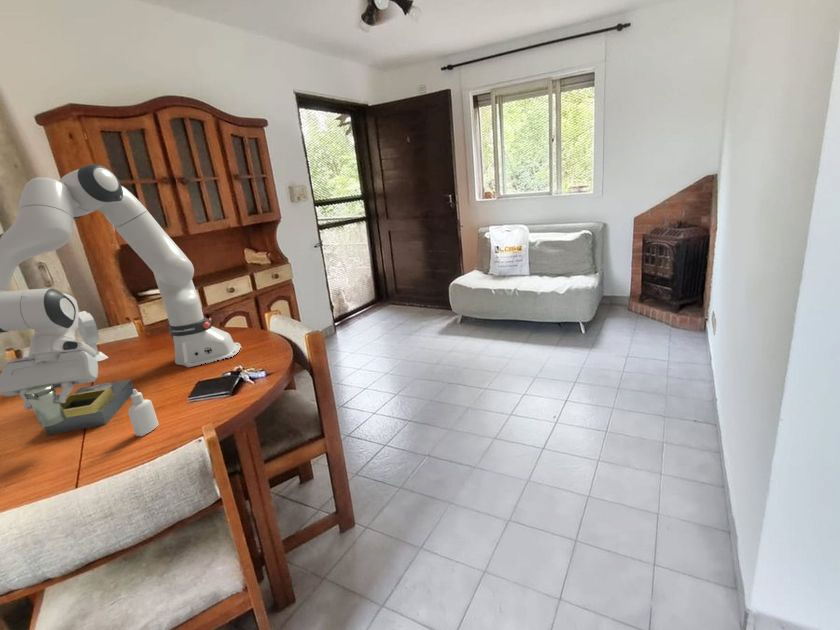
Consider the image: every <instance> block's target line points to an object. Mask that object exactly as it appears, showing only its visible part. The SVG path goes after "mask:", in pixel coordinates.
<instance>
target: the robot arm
mask: <svg viewBox="0 0 840 630" xmlns="http://www.w3.org/2000/svg"><path fill="white" fill-rule="evenodd" d="M18 203H19V204H18V209H17V216H16V218H15V220H14V222H13V223H12V225H11V226H10V227H9V228H8V229H7V230H6V231H4V232H3V233H1V234H0V334H2V333H9V332H13V331H14V332H15V331H27V330H33V331H34V332H33V333H34V334H33V336H32V337H31V340H30V344H29V349H28V355H27V356H25V357H24V356H23V357H21V358H13V359H11V360H10V361H8V362H7V363H5V364H3V366H2V371H1V372H0V395H1V396H5V397H8V398H9V397H14V396H15V397H16V396H20V397H21V399H22V400H23V409H25V410H33V408H32V406H31V404H30V401H29V399H26V391H27V390H29V389H31V388H33V387H37V386H42V385H48V384H53V386H54V388H55V389H60V388H62V389H61V391H60V392H59V393H58V394H57V395H55V400H54V402H55V403H57V404H61V403H65V402H66V396H68V395H69V394H70V393H71V392H72V390H73V389H74V386H78V385H82V384H89V383H94V382H95V381H96V380H97V378H98V375H99V361H97V360H96V359H95V357H96V351H95V350H94V349H93V348H92V347H90V346H89V345H87V344H86V343H85V342H84V341H78V340H76V334H77V332H78V320H79V313H78V312H79V304H78V302H77V299H76V298H74V297H73V296H72V295H70V294H67V293H65V292H61V291H59V290H58V289H55V288H32V289H21V290H9V288H10V284H11V282H12V279H13V275H14V273H15V270H16V269H17V267H18V266H19V265H20V264H22V263H23V262H24V261H27V260H29V259H31V258H33V257H37V256H39V255H43V254H46V253H49V252H50V253H51V252H54V251H56V250H58V249H60V248H62V247H63V246H66V244H68V243H69V241H70V240H71V238H72V236H73V233H74V232H73V231H74V221H75V219H81V217H83V216H86V215H88V214H91V213H93V212H96V211H98V212H100V213H101V214H103V216H105V218H106V220H107V221H108V223H110V224H111V226H112V227H113V228H114V229H115V230H116V232H117V233H118V234H119V235H120V236H121V238H123V240H124V241H125V242H126V243H127V244H128V246H129V247H130V248H131V249H132V250H133V252H135V253H136V254H137V255H138V257H139V258H140V259H141V260H142V261H143V262H144V263H145V264H146V265H147V267H148V268H149V269H150V270H151V272H153V275H154V280H155V282H156V285H157V288H158V291H159V294H160V296H161V300H162V302H163V306H164V309H165V313H166V315H167V320H168V328H169V329H168V330H169V334H170V336H171V338H172V340H173V344H174V345H173V346H174V354H175V355H174V363H175V364H176V365H178V366H184V367H186V368H191V367H195V366H200V365H201V364H202V365H205V363H206V364H210V363H214V361H215V362H218V361H217V360H219V361H223V360H222V359H224V360H226V359H225V358H228V359H231V358H230V357H232V358H234V357H235V356H234V355H236V354H237V353H238V352H239V350H240V348H241V349H242V345H241V343H239V342H234V340H233V338H232V336H231V334H230V333H229V332H227V331H224V330H222V329H219V328H218V327H215V326H213V325H212V318H211V317H209V318H207V317H205V316H204V313H203V309H202V305H201V302H200V298H199V294H198V293H197V290H196V287H195V284H194V282H193V278H194V274H195V268H194V264H193V263H192V261H191V260H190V259H189V258H188V257H187V255H186V254H185V252H183V250H181V248H180V247H179V246H178V245H177V244H176V243H175V242H174V240H173V239H172V238H171V237H170V236H169V235H168V233H167V232H166V231H165V230H164V229H163V227H161V225H160V224H159V223H158V222H157V221H156V219H155V217H153V216H152V214H151V213H150V212H149V210H147V208H146V207H145V206H144V205H143V204H142V202H141V201H140V200H139V199H138V198H137V197H136V196H135V195H134V194H133V193H132V192H131V191H129V190H128V189H127V188H126V187H124V186H123V185H121V182H120V180H119V178H118V177H117V175H116V174H115V173H114V172H113V171H112V170H111V169H109V168H107V167H105V166H103V165H101V164H98V163H93V164H92V163H91V164H86V165H83V166H81V167H80V168H78V169H75V170H72V171H71V172H68V173H66V174H65V175H64V176H62V177H61V178H60V179H58V180H57V179H55V178H51V177H47V176H45V177H44V176H43V177H42V176H41V177H40V176H39V177H38V176H37V177H34V178H32V179H29V181H27V182H26V184H25V186H24V188H23V190H22V192H21V196H20V198H19V202H18ZM240 351H241V350H240ZM239 353H240V352H239ZM239 353H238V354H239ZM238 354H237V355H238ZM237 355H236V356H237ZM233 356H234V357H233Z"/></svg>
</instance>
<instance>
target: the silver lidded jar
mask: <svg viewBox="0 0 840 630" xmlns="http://www.w3.org/2000/svg"><path fill="white" fill-rule="evenodd" d="M56 391H57V390H56V388H54V386H53V384H48V385H42V386H37V387H33V388H31V389H29V390H27V391H26V399H29V401H30V404H31V406H32V408H33V409H32V410H33V413H34V415H35V416H36V420H37V421H38V424H39V425H40V427H42V428H44V427H47V426H51V425H54V424H57V423H59V422H61V421H63V420H64V419H65V418H66V415H65V412H64V410H63V408H62V405H61V404H57V403H55V402H54V400H55V395H58V394H57V392H56Z"/></svg>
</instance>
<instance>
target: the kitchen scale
mask: <svg viewBox="0 0 840 630" xmlns="http://www.w3.org/2000/svg"><path fill="white" fill-rule="evenodd" d="M133 389H135V387H134V384H133V381H132V379H127V380H121V381H120V380H119V381H113V382H104V383H99V384H96V385H91V386H84V387H80V388H78V389H77V390H76V391H75V392H74V393H71V394H70V393H69V394H68V396H66V402H65V403H61V405H62V408H63V410H64V412H65V415H66V418H65V419H64V420H63V421H61V422H59V423H57V424H54V425H51V426H47V427H43V429H44V432H45V434H46V435H47V436H49V435H50V436H51V435H55V434H62V433H66V432H72V431H77V430H83V429H84V430H85V429H90V428H94V427H100V426H105V425H107V424H108V423H109V422H110V420H111V419H112V418H113V417H114V416H115V415H116V413H117V412H118V411H119V410H120V409H121V407H122V406H123V405H124V404H126V402H127V401H128V399H130V398H131V397H130V396H131V395H132V394H133Z"/></svg>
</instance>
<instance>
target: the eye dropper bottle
mask: <svg viewBox="0 0 840 630" xmlns="http://www.w3.org/2000/svg"><path fill="white" fill-rule="evenodd" d="M129 398H130V400H131V402H132V404H131V405H130V407H129V408H128V416H129V419H130V422H131V423H130V424H131V426H132V429H133V431H134V434H135V437H144V436H143V435H145V434H147V433H149V432H151V431H152V430H154V429H155V428H156V427H157V426H158V427H159V421H158V417H157V414H156V412H155V411H156V410H155V408H154V404H153V403H152V400H151V399H147V398H146V399H144V397H143V393H142V392H140V391H138V390H137V389H136V388H134V389H133V394H132V395H131V396H130V397H129ZM158 427H157V428H158ZM157 428H156V429H157ZM156 429H155V430H156ZM155 430H154V431H155ZM152 432H153V431H152ZM152 432H151V433H152ZM149 434H150V433H149ZM147 435H148V434H147ZM145 436H146V435H145Z"/></svg>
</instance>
